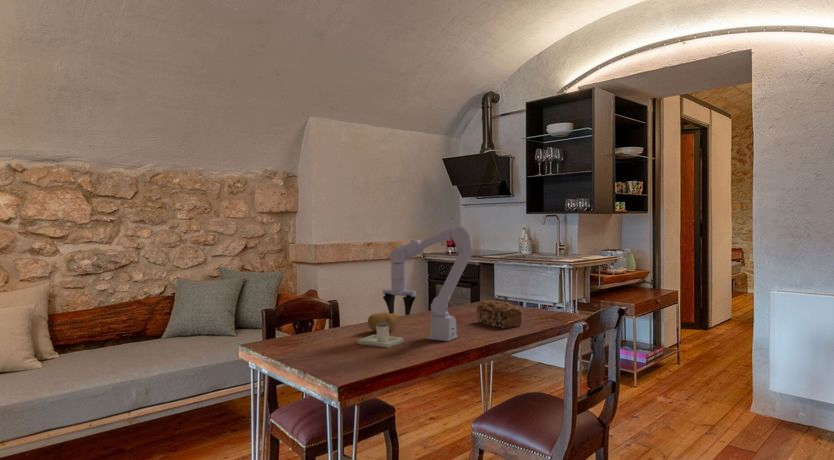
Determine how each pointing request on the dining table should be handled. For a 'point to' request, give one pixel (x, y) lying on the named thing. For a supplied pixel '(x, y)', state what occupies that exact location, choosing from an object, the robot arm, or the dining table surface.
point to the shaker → (383, 332)
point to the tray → (373, 342)
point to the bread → (498, 314)
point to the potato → (383, 320)
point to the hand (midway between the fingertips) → (399, 314)
